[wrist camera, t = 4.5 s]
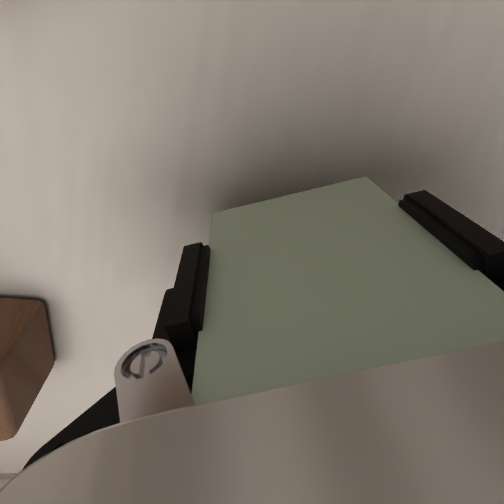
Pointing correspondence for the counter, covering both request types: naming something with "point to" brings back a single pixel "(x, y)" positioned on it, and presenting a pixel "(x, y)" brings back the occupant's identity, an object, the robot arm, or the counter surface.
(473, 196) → the counter surface
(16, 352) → the wooden block
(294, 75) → the counter surface
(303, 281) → the green domino
